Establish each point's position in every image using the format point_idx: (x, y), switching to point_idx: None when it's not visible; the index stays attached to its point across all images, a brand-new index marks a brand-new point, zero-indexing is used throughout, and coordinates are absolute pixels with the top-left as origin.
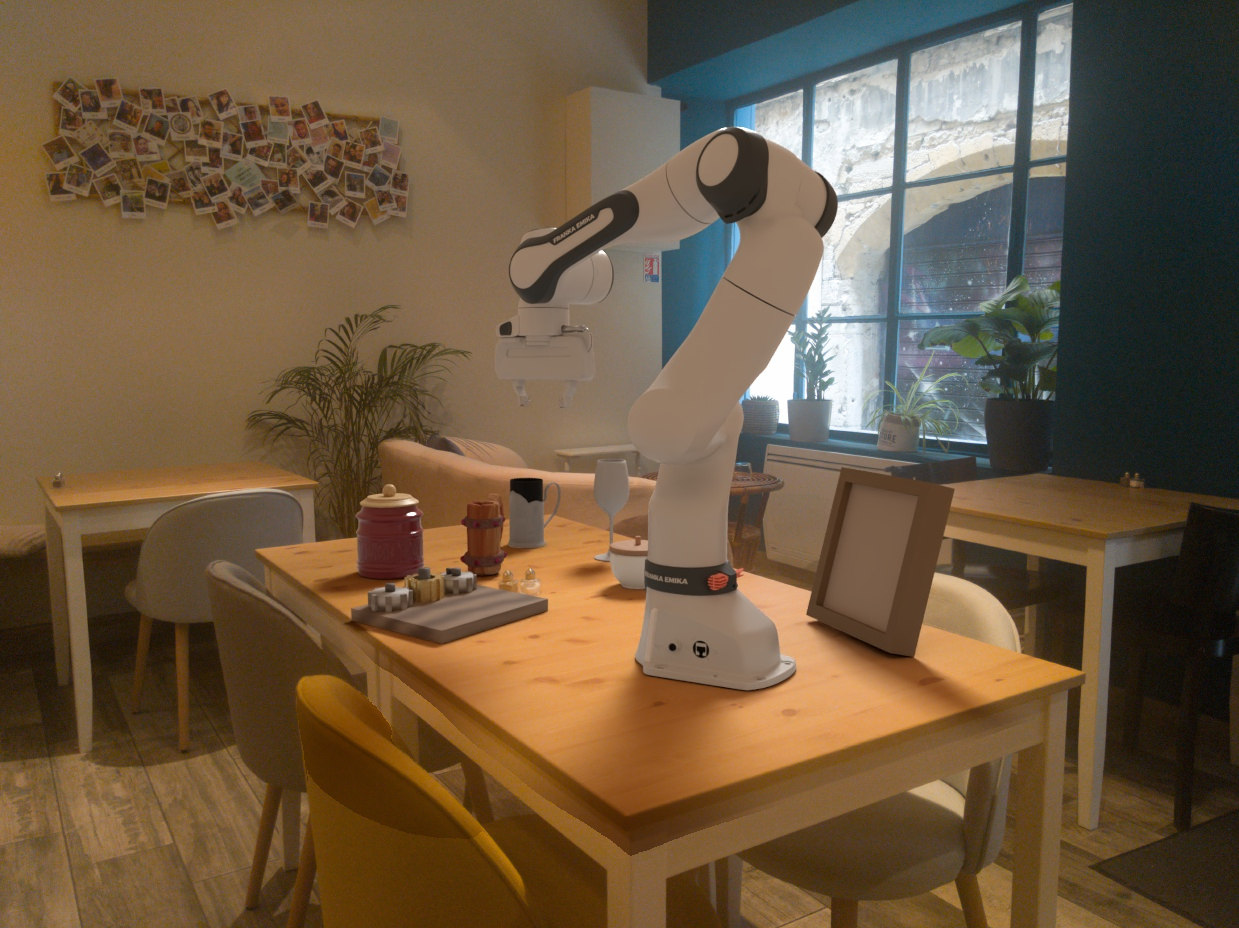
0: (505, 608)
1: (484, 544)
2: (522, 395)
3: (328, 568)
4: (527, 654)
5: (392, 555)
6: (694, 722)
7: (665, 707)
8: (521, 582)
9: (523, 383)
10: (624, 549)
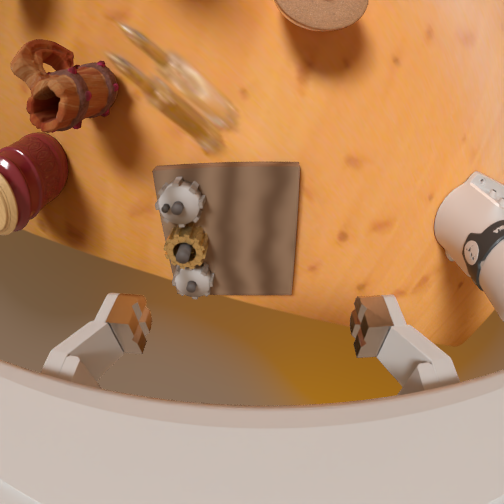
0: (288, 222)
1: (96, 107)
2: (116, 345)
3: None
4: (363, 270)
5: (53, 192)
6: (476, 291)
7: (463, 286)
8: (170, 81)
9: (83, 380)
10: (328, 27)
